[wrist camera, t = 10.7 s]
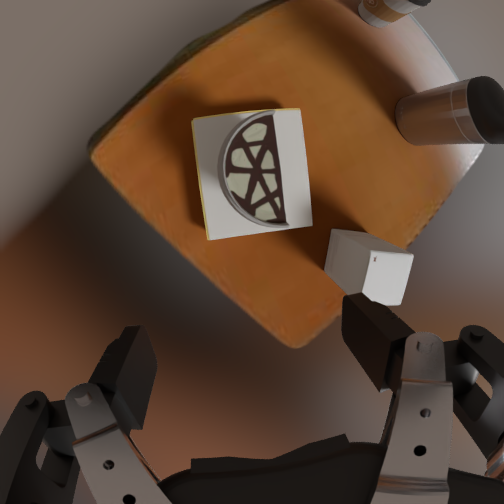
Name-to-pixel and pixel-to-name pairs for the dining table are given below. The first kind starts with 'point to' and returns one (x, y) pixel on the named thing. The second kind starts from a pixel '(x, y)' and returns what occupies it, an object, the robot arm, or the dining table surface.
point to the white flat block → (291, 162)
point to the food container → (253, 171)
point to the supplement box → (368, 266)
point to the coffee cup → (387, 10)
